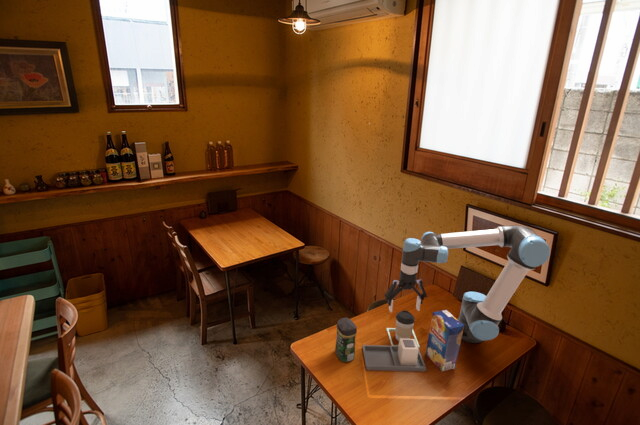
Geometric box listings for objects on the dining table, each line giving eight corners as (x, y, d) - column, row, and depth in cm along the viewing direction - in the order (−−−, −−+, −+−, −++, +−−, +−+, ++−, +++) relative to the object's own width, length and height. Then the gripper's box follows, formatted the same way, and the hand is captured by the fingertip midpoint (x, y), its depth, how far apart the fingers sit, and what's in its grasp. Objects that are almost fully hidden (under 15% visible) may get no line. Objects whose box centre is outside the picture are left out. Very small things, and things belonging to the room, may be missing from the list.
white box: (412, 354, 166) (414, 338, 162) (416, 365, 159) (418, 348, 156) (397, 354, 165) (399, 337, 162) (400, 365, 159) (403, 348, 156)
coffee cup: (411, 347, 172) (415, 321, 167) (393, 344, 173) (396, 318, 168) (411, 335, 180) (414, 310, 175) (393, 332, 182) (396, 307, 177)
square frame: (412, 330, 183) (412, 328, 183) (419, 349, 170) (419, 346, 170) (386, 330, 183) (386, 327, 182) (391, 348, 170) (391, 346, 170)
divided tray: (416, 351, 169) (417, 346, 168) (425, 373, 156) (426, 367, 155) (362, 350, 168) (362, 344, 167) (366, 371, 156) (366, 366, 155)
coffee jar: (332, 350, 167) (334, 317, 161) (347, 346, 170) (349, 314, 164) (341, 364, 159) (344, 330, 153) (356, 360, 162) (360, 326, 156)
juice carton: (455, 369, 159) (464, 325, 151) (441, 373, 156) (450, 328, 148) (438, 351, 169) (446, 309, 161) (425, 355, 167) (432, 312, 159)
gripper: (431, 266, 167) (425, 304, 174) (380, 268, 164) (376, 306, 171) (438, 274, 160) (432, 313, 167) (385, 276, 157) (381, 316, 164)
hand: (404, 310), depth 169 cm, fingers open, 13 cm apart
